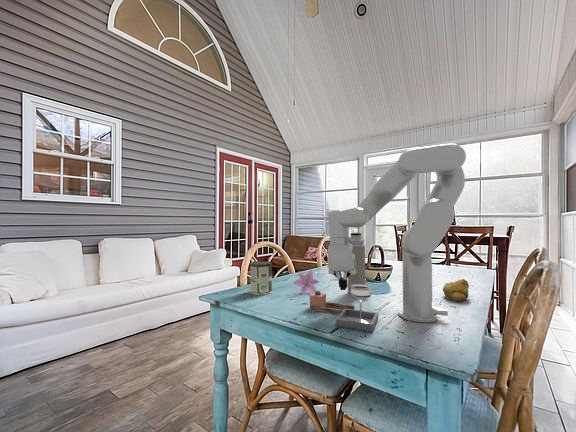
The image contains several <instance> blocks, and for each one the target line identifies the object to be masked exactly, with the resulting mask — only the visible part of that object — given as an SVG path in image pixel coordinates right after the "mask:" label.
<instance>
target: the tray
mask: <svg viewBox="0 0 576 432" xmlns="http://www.w3.org/2000/svg"><path fill="white" fill-rule="evenodd" d="M342 310H343V311H342V312H341V314H338V316H337V317H336V318H335V326H336V328H339V329H346V330H352V331H358V332H366V333H372V334H373V333H374V331H375V329H376V326H377V324H378V322H379V312H374V311H365V310H362V318H361V319H363V320H366V321H368V322H369V323H364V322H358V321H354V320H356V319H360V309H354V310H353V309H342Z"/></svg>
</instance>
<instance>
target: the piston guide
mask: <svg viewBox="0 0 576 432" xmlns="http://www.w3.org/2000/svg"><path fill="white" fill-rule="evenodd" d="M355 308H356V306H355V304H354V305H353V304H348V303H347V304H346V303H340V302H330V301H326V307H319V306H311V308H310V310H311V313H312V314H314V313H315V312H321V313H322V312H323V313H327V314H335V315H340V314H341V312H342V311H343V310H344V309H353V310H356V309H355Z"/></svg>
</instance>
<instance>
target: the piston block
mask: <svg viewBox="0 0 576 432" xmlns="http://www.w3.org/2000/svg"><path fill="white" fill-rule="evenodd" d="M326 302H327V294H326V293H325V292H321V291H320V290H316V291H315V292H314V293H312V292H311V294H310V295H309V309H311V306H319V307H327V306H326Z"/></svg>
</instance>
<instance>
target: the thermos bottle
mask: <svg viewBox="0 0 576 432" xmlns="http://www.w3.org/2000/svg"><path fill="white" fill-rule="evenodd" d="M350 238H353V242H350V244H352V246H353V250H354V255H355V262H356V268H355V269H356V274H353V275H350V276H349V277H348V278H347V285H348V287H347V294H349V295H351V293H350V290H351V286H350V285H352V284H367V283H366V245H365V244H364V240H363V239H362V238H363V237H362V233H361V232H351V233H350Z"/></svg>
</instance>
